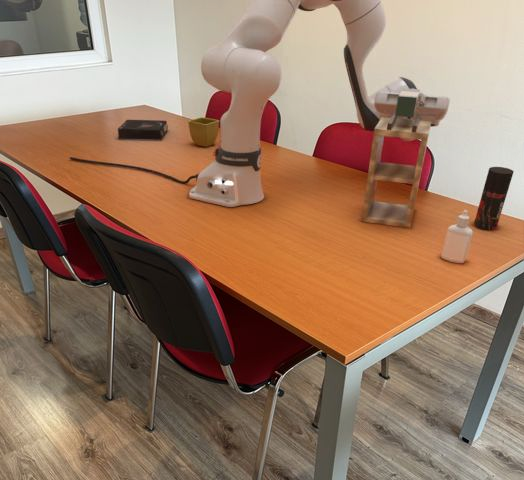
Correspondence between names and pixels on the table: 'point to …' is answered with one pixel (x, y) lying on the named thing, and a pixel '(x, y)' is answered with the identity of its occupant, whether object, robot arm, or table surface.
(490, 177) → the deodorant
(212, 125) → the flower pot
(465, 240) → the eye dropper bottle
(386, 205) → the bottle rack
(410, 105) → the bottle
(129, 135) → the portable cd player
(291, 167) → the table surface
